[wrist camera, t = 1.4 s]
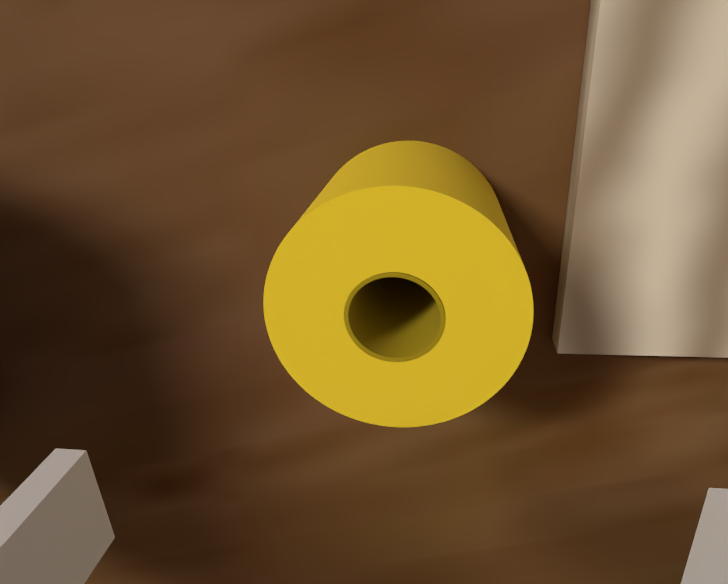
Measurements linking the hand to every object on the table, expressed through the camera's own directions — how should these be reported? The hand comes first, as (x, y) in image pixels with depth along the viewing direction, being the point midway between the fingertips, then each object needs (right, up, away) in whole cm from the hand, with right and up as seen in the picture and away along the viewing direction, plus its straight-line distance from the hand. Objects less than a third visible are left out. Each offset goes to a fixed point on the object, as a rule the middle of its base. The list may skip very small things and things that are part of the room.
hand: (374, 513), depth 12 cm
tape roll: (+2, +8, +17) cm, 19 cm away
